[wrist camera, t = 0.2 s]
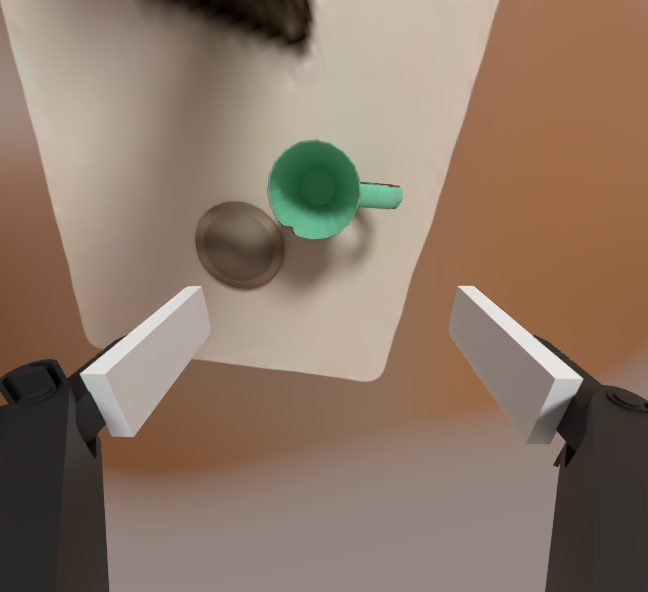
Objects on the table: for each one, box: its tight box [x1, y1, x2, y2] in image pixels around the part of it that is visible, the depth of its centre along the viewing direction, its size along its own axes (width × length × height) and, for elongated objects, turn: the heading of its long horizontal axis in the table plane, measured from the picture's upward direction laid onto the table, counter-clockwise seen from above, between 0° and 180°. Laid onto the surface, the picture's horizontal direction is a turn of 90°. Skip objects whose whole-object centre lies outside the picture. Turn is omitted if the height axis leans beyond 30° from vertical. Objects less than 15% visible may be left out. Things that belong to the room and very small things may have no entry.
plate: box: [195, 202, 283, 288], centre depth 41 cm, size 13×13×1 cm
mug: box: [267, 140, 403, 240], centre depth 33 cm, size 15×10×10 cm
